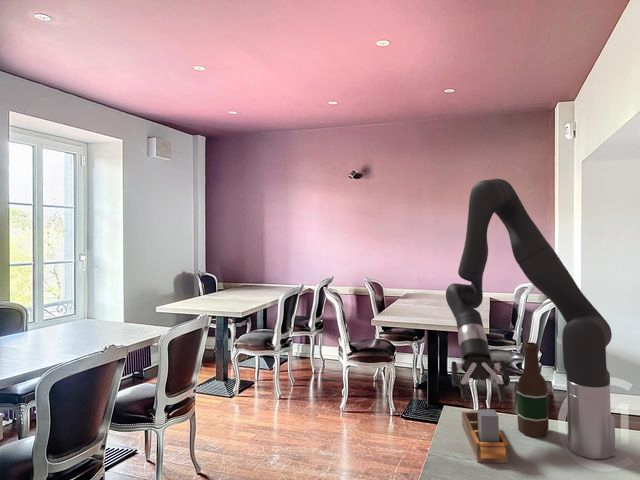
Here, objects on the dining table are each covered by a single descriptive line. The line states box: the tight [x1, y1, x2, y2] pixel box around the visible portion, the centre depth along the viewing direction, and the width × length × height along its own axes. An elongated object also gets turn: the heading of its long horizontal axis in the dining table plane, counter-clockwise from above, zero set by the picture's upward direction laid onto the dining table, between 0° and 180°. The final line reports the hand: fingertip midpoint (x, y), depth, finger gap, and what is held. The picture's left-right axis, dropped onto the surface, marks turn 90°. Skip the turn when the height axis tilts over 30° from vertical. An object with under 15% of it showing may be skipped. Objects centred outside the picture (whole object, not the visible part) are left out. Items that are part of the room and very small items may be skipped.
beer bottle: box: [516, 341, 549, 438], centre depth 124 cm, size 8×8×24 cm
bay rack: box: [461, 411, 510, 464], centre depth 119 cm, size 7×21×4 cm, turn 173°
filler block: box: [477, 408, 500, 442], centre depth 113 cm, size 4×4×10 cm
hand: (484, 400), depth 117 cm, fingers open, 8 cm apart
